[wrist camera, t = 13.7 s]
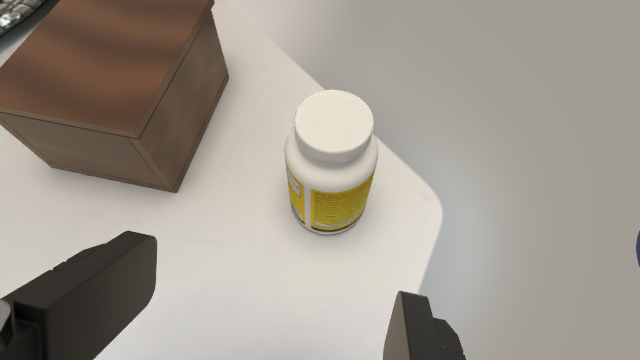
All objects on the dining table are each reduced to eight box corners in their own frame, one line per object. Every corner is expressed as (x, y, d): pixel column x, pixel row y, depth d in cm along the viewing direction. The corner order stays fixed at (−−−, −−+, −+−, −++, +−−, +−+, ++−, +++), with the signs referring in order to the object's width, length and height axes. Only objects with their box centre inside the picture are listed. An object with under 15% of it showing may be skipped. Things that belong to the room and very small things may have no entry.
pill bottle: (376, 190, 32) (405, 105, 22) (342, 250, 29) (357, 183, 19) (314, 159, 33) (316, 65, 23) (276, 213, 30) (259, 133, 21)
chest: (123, 58, 39) (83, -11, 32) (229, 77, 38) (211, 9, 31) (50, 167, 32) (-20, 108, 25) (176, 193, 31) (139, 139, 24)
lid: (88, -18, 32) (83, -27, 32) (214, 2, 31) (212, -6, 31) (-20, 108, 25) (-30, 100, 25) (138, 139, 24) (133, 131, 24)
